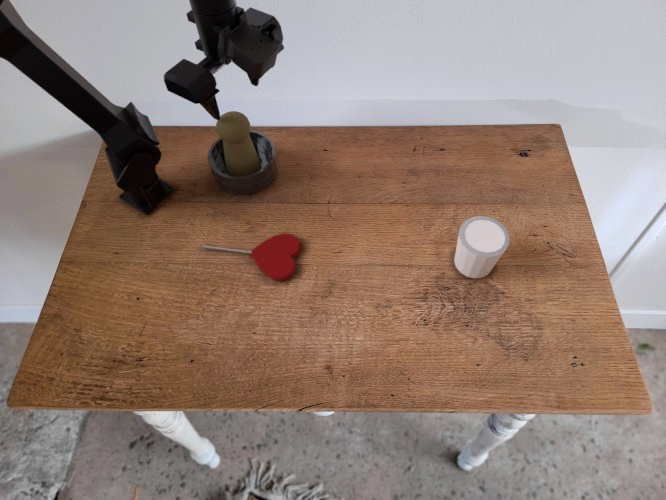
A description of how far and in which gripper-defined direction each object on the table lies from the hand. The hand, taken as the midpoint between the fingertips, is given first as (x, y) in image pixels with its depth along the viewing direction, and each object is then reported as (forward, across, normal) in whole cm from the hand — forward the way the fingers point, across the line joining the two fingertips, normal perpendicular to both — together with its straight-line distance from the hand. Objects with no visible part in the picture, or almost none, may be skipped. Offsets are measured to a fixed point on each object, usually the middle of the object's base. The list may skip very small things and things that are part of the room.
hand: (236, 101), depth 75 cm
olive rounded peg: (+11, -3, -2) cm, 12 cm away
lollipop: (+12, -16, -13) cm, 24 cm away
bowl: (+12, -3, -2) cm, 13 cm away
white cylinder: (+12, +1, -42) cm, 44 cm away
